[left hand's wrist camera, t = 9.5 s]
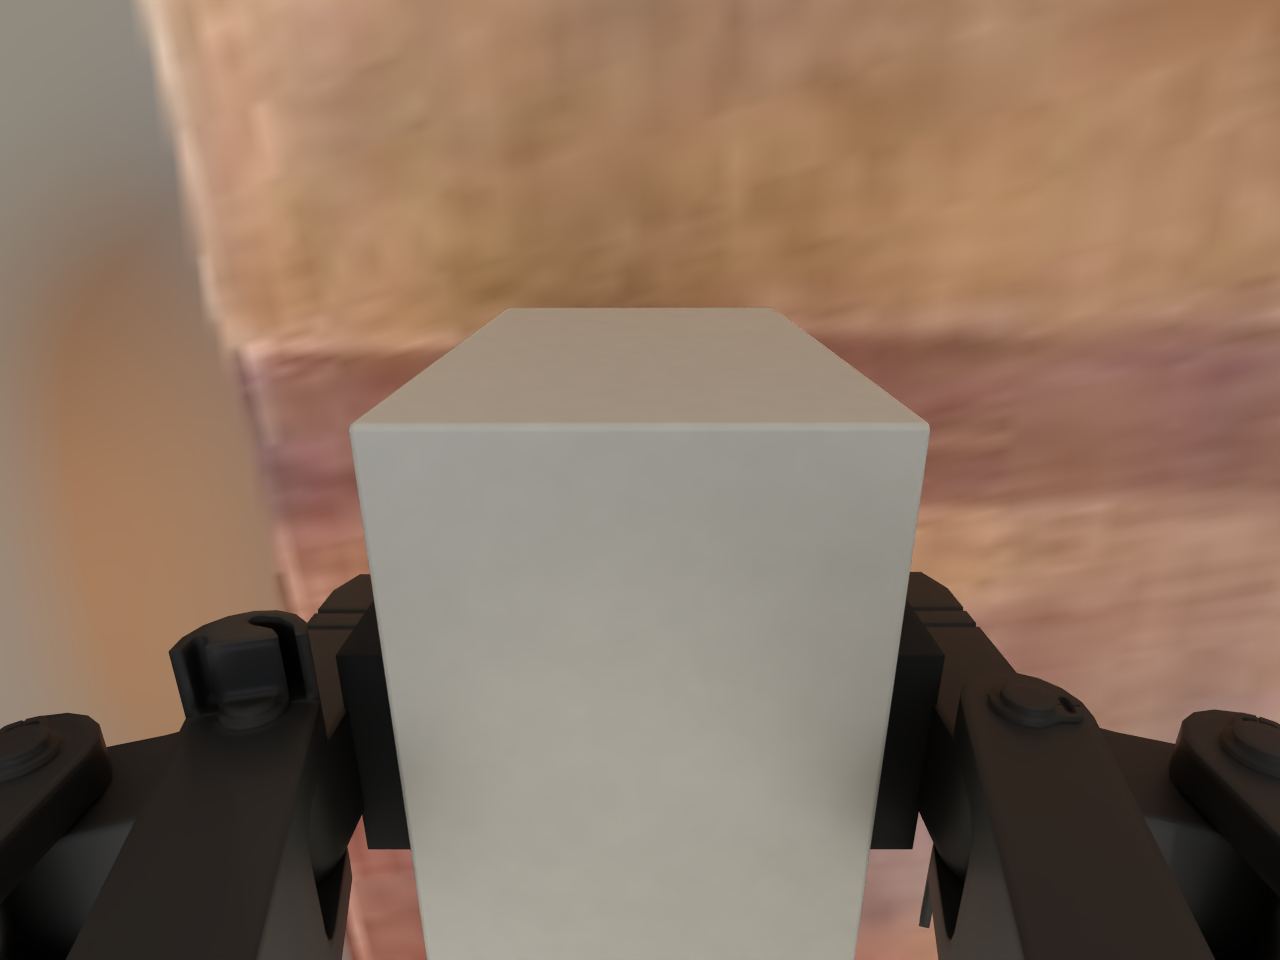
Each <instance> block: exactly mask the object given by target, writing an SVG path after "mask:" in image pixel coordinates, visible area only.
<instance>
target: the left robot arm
mask: <svg viewBox="0 0 1280 960" xmlns="http://www.w3.org/2000/svg"><path fill="white" fill-rule="evenodd" d="M169 655H170V659H171V663H172V667H173V671H174V674H175V678H176V682H177V686H178V690H179V694H180V697H181V701H182V705H183V709H184V713H185V716H186V719H185V721H184V723H183V725H182V727H181V729H180V731H179V732H176V733H173V734H169V735H165V736H160V737H155V738H150V739H145V740H140V741H135V742H130V743H125V744H120V745H115V746H110V747H106V744H105V741H104V738H103V735H102V732H101V728H100V725H99V724H98V723H97V722H95V721H94V720H93V719H92V718H90V717H89V716H87V715H79V714H72V713H63V714H55V715H46V716H38V717H33V718H29V719H26V721H22V720H21V721H18V722H15V723H12V724H9V725H7V726H4V727H3V728H1V729H0V960H342V953H343V946H344V938H345V930H346V922H347V914H348V907H349V899H350V891H351V883H352V872H351V865H350V858H349V853H348V848H347V846H348V843H349V841H350V839H351V837H352V835H353V833H354V830H355V828H356V826H357V824H358V822H359V820H360V817H361V815H362V816H363V821H364V827H365V833H366V839H367V845H368V849H411V847H410V840H409V833H408V826H407V820H406V813H405V806H404V799H403V792H402V786H401V779H400V772H399V765H398V759H397V752H396V745H395V738H394V731H393V725H392V718H391V711H390V704H389V698H388V691H387V684H386V677H385V670H384V664H383V657H382V650H381V643H380V637H379V630H378V623H377V616H376V610H375V603H374V596H373V589H372V582H371V576H370V574H360V575H358V576H357V577H355V578H353V579H352V580H350V581H348V582H347V583H345V584H344V585H342V586H340V587H339V588H337V589H335V590H334V591H333V592H332V593H331V594H330V596H329V597H328V598H327V599H326V601H325V602H324V603H323V604H322V606H321V607H320V608H319V609H318V614H314V615H313V617H312V618H311V619H310V620H309V622H308V623H306V622H305V621H304V620H303V619H301V618H300V617H299V616H297V615H296V614H292V613H288V612H283V611H278V610H273V611H252V612H247V613H242V614H237V615H232V616H228V617H225V618H222V619H220V620H217V621H214V622H211V623H209V624H206V625H203V626H201V627H200V628H198V629H196V630H194V631H193V632H191V633H189V634H188V635H186V636H184V637H183V638H181V639H180V640H179V641H178V642H177V643H176V644H175V646H174V647H173V648H172V649H171V650H170V651H169ZM919 812H920V815H921V817H922V819H923V821H924V823H925V825H926V827H927V830H928V832H929V834H930V836H931V838H932V840H933V848H932V853H931V859H930V864H929V869H928V875H927V880H926V886H925V891H924V897H923V902H922V908H921V915H920V922H919V926H922V927H926V928H929V926H930V921H931V916H932V913H933V921H934V928H935V936H936V944H937V951H938V959H939V960H1280V724H1278V723H1276V722H1274V721H1271V720H1268V719H1265V718H1262V717H1260V718H1257V717H1256V716H1255V715H1251V714H1246V713H1240V712H1239V713H1238V712H1230V711H1222V710H1208V711H1200V712H1194V713H1192V714H1191V715H1190V716H1188V717H1187V718H1186V719H1184V720H1183V721H1182V724H1181V728H1180V731H1179V734H1178V737H1177V740H1176V744H1172V743H1167V742H1162V741H1157V740H1152V739H1147V738H1142V737H1137V736H1132V735H1127V734H1122V733H1117V732H1113V731H1109V730H1105V729H1102V728H1099V726H1098V724H1097V722H1096V720H1095V718H1094V717H1093V715H1092V714H1091V713H1090V712H1089V710H1088V709H1087V708H1086V707H1085V705H1084V704H1083V703H1082V702H1081V701H1079V700H1078V699H1077V698H1075V697H1074V696H1072V695H1071V694H1069V693H1068V692H1066V691H1065V690H1064V689H1062V688H1060V687H1057V686H1055V685H1053V684H1050V683H1048V682H1046V681H1043V680H1041V679H1039V678H1035V677H1031V676H1027V675H1022V674H1018V673H1016V671H1015V670H1014V669H1013V668H1012V667H1011V665H1010V664H1009V663H1008V662H1007V660H1006V659H1005V658H1004V657H1003V656H1002V654H1001V653H1000V652H999V651H998V649H997V648H996V647H995V646H994V645H993V643H992V642H991V641H990V640H989V638H988V637H987V636H986V635H985V634H984V632H983V631H982V630H981V629H980V627H976V622H975V621H974V620H973V619H972V618H971V616H970V615H969V614H968V613H967V611H963V607H962V605H961V604H960V603H959V602H958V600H957V599H956V598H955V597H954V596H953V594H952V593H951V592H950V591H949V589H948V588H946V587H945V586H943V585H941V584H940V583H938V582H936V581H935V580H933V579H932V578H930V577H928V576H927V575H925V574H923V573H922V572H910V574H909V581H908V588H907V595H906V602H905V609H904V616H903V623H902V630H901V637H900V644H899V651H898V658H897V665H896V672H895V679H894V686H893V693H892V700H891V707H890V714H889V721H888V728H887V735H886V742H885V749H884V756H883V763H882V770H881V776H880V783H879V790H878V797H877V804H876V811H875V818H874V825H873V832H872V839H871V846H870V849H912V848H913V842H914V837H915V831H916V825H917V819H918V813H919Z"/></svg>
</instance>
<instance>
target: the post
mask: <svg viewBox="0 0 1280 960" xmlns="http://www.w3.org/2000/svg"><path fill="white" fill-rule="evenodd" d="M349 433H350V440H351V447H352V454H353V460H354V467H355V474H356V481H357V488H358V494H359V501H360V508H361V515H362V521H363V528H364V535H365V542H366V549H367V555H368V562H369V569H370V576H371V582H372V589H373V596H374V603H375V610H376V616H377V623H378V630H379V637H380V643H381V650H382V657H383V664H384V670H385V677H386V684H387V691H388V698H389V704H390V711H391V718H392V725H393V731H394V738H395V745H396V752H397V759H398V765H399V772H400V779H401V786H402V792H403V799H404V806H405V813H406V820H407V826H408V833H409V840H410V847H411V853H412V860H413V867H414V874H415V881H416V887H417V894H418V901H419V908H420V914H421V921H422V928H423V935H424V941H425V948H426V955H427V960H854V958H855V951H856V944H857V937H858V930H859V923H860V916H861V909H862V902H863V895H864V888H865V881H866V874H867V867H868V860H869V853H870V846H871V839H872V832H873V825H874V818H875V811H876V804H877V797H878V790H879V783H880V776H881V770H882V763H883V756H884V749H885V742H886V735H887V728H888V721H889V714H890V707H891V700H892V693H893V686H894V679H895V672H896V665H897V658H898V651H899V644H900V637H901V630H902V623H903V616H904V609H905V602H906V595H907V588H908V581H909V574H910V567H911V560H912V553H913V546H914V539H915V532H916V525H917V518H918V511H919V504H920V497H921V490H922V483H923V476H924V469H925V462H926V455H927V448H928V441H929V435H930V427H929V423H927V422H926V421H925V420H923V419H922V418H921V417H919V416H918V415H916V414H915V413H914V412H912V411H911V410H910V409H908V408H907V407H906V406H904V405H903V404H902V403H900V402H899V401H898V400H896V399H895V398H894V397H892V396H891V395H890V394H888V393H887V392H886V391H884V390H883V389H882V388H880V387H879V386H878V385H876V384H875V383H874V382H872V381H871V380H870V379H868V378H867V377H866V376H864V375H863V374H861V373H860V372H859V371H857V370H856V369H855V368H853V367H852V366H851V365H849V364H848V363H847V362H845V361H844V360H843V359H841V358H840V357H839V356H837V355H836V354H835V353H833V352H832V351H831V350H829V349H828V348H827V347H825V346H824V345H823V344H821V343H820V342H819V341H817V340H816V339H815V338H813V337H812V336H811V335H809V334H808V333H806V332H805V331H804V330H802V329H801V328H800V327H798V326H797V325H796V324H794V323H793V322H792V321H790V320H789V319H788V318H786V317H785V316H784V315H782V314H781V313H780V312H778V311H777V310H776V309H774V308H508V309H506V310H504V311H503V312H502V313H500V314H499V315H498V316H496V317H495V318H493V319H492V320H491V321H489V322H488V323H487V324H485V325H484V326H483V327H481V328H480V329H479V330H477V331H476V332H475V333H473V334H472V335H471V336H469V337H468V338H467V339H465V340H464V341H462V342H461V343H460V344H458V345H457V346H456V347H454V348H453V349H452V350H450V351H449V352H448V353H446V354H445V355H444V356H442V357H441V358H440V359H438V360H437V361H435V362H434V363H433V364H431V365H430V366H429V367H427V368H426V369H425V370H423V371H422V372H421V373H419V374H418V375H417V376H415V377H414V378H413V379H411V380H410V381H408V382H407V383H406V384H404V385H403V386H402V387H400V388H399V389H398V390H396V391H395V392H394V393H392V394H391V395H390V396H388V397H387V398H386V399H384V400H383V401H382V402H380V403H379V404H377V405H376V406H375V407H373V408H372V409H371V410H369V411H368V412H367V413H365V414H364V415H363V416H361V417H360V418H359V419H357V420H356V421H355V422H353V423H352V424H351V425H350V429H349Z"/></svg>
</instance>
